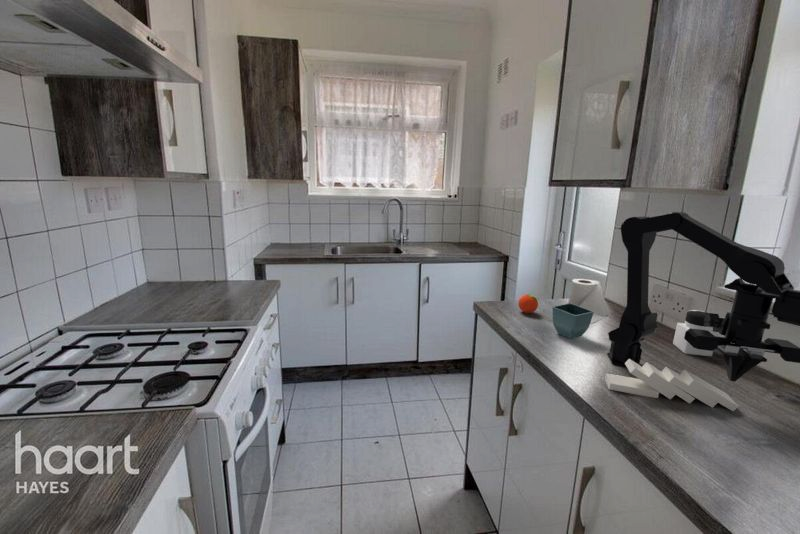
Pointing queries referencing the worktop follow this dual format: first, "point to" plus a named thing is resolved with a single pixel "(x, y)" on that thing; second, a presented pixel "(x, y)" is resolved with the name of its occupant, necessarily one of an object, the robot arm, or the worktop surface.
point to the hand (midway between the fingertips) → (731, 380)
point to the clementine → (528, 303)
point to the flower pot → (571, 320)
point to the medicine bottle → (695, 322)
